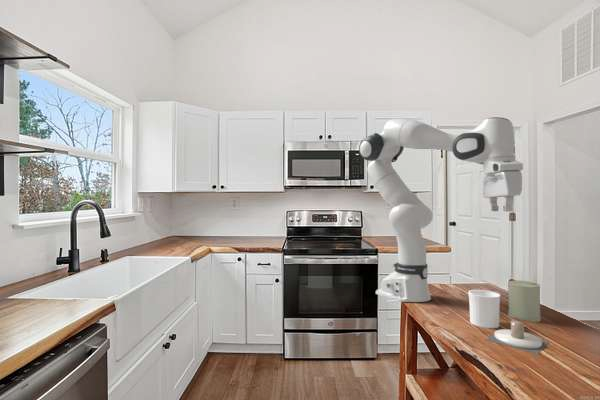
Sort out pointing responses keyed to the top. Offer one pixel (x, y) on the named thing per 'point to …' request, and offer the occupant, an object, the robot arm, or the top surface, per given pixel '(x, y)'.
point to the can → (524, 300)
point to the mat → (535, 351)
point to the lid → (518, 337)
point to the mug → (484, 308)
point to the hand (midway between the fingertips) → (501, 211)
